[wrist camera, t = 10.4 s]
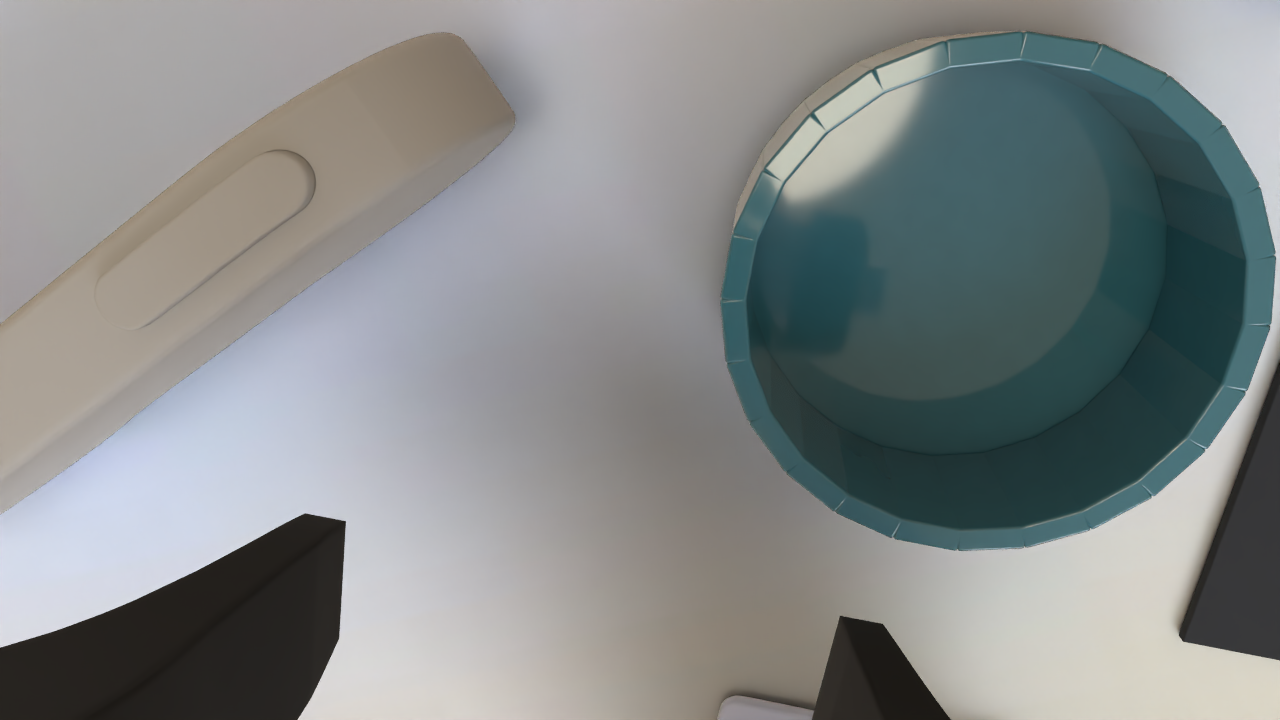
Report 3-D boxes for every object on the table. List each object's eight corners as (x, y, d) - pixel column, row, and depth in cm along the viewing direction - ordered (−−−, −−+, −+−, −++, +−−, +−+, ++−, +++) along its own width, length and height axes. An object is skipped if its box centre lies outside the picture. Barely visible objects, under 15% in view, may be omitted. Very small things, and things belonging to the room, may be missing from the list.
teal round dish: (1107, 501, 24) (1175, 593, 20) (697, 425, 24) (683, 499, 21) (1247, 74, 21) (1361, 83, 17) (774, 0, 21) (775, -8, 17)
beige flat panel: (496, 20, 22) (346, 9, 14) (557, 108, 23) (444, 144, 15) (-61, 456, 27) (-395, 623, 20) (-4, 521, 28) (-309, 711, 20)
